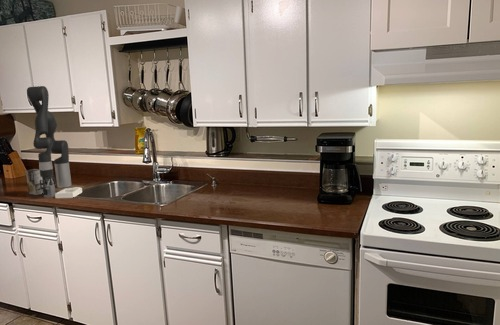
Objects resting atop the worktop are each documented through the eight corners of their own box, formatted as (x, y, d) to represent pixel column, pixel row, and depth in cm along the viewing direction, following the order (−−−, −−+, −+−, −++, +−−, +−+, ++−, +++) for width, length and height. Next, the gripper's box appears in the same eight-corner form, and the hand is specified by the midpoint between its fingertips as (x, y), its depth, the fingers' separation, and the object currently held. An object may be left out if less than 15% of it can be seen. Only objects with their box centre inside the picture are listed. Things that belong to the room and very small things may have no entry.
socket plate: (65, 192, 249) (65, 187, 249) (82, 192, 250) (81, 186, 249) (55, 198, 236) (54, 192, 235) (73, 197, 236) (72, 192, 235)
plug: (48, 195, 244) (46, 184, 243) (55, 195, 244) (54, 184, 243) (43, 197, 239) (42, 186, 238) (51, 197, 239) (50, 186, 238)
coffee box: (45, 193, 250) (42, 169, 248) (36, 195, 245) (32, 171, 242) (37, 191, 255) (34, 168, 252) (28, 193, 249) (25, 170, 247)
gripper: (46, 166, 245) (48, 190, 248) (34, 170, 231) (37, 196, 234) (57, 166, 245) (60, 190, 248) (46, 170, 231) (49, 195, 234)
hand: (49, 193), depth 241 cm, fingers open, 8 cm apart
